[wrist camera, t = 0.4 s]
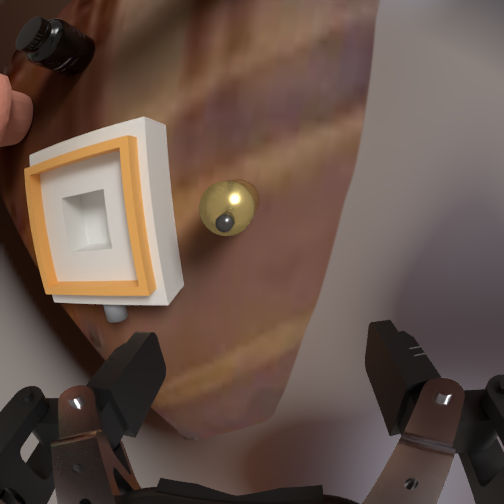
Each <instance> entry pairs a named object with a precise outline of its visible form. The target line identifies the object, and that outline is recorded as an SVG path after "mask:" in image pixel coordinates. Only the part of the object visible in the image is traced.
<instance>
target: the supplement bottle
mask: <svg viewBox="0 0 504 504" xmlns="http://www.w3.org/2000/svg"><path fill="white" fill-rule="evenodd" d="M16 48H17V49H18V50H19V51H22V52H24V53H26V54H27V58H28V60H29V61H30V62H31V63H33V64H35V65H38V66H41V67H44V68H47V69H49V70H52V71H55V72H58V73H60V74H63V75H67V76H71V75H74V74H77V73H79V72H80V71H81V70H83V69H84V68H85V67H86V66H87V65H88V63H89V62H90V60H91V59H92V56H93V54H94V50H95V44H94V41H93V39H92V38H91V37H89V36H88V35H86V34H85V33H83V32H82V31H80V30H78V29H77V28H75V27H73V26H72V25H70V24H69V23H67V22H65V21H63V20H61V19H51V20H49V21H48V20H47V19H43V18H42V17H35V18H33V19H31V20H30V21H29V22H28V23H27V24H26V25H25V26H24V27H23V29H22V30H21V32H20V33H19V36H18V38H17V41H16Z"/></svg>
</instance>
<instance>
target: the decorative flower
mask: <svg viewBox="0 0 504 504" xmlns="http://www.w3.org/2000/svg"><path fill="white" fill-rule="evenodd" d="M32 117H33V104H32V100H31V99H30V97H29V96H27V95H25V94H23V93H20V92H16V91H12V90H11V85H10V82H9V79H8V76H5V75H2V74H0V147H3V146H9V145H15V144H17V143H19V142H20V141H21V140H22V139H23V138H24V137H25V135H26V134H27V132H28V130H29V128H30V126H31V122H32Z"/></svg>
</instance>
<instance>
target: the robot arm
mask: <svg viewBox="0 0 504 504" xmlns="http://www.w3.org/2000/svg"><path fill="white" fill-rule="evenodd" d="M365 367H366V372H367V375H368V377H369V380H370V383H371V385H372V388H373V390H374V393H375V396H376V399H377V401H378V404H379V407H380V410H381V413H382V415H383V418H384V421H385V424H386V427H387V430H388V432H389V435H390V436H393V435H396V434H401V437H400V439H399V441H398V443H397V445H396V447H395V449H394V451H393V453H392V455H391V457H390V458H389V460H388V462H387V464H386V465H385V467H384V469H383V471H382V472H381V474H380V476H379V477H378V479H377V481H376V482H375V484H374V486H373V487H372V489H371V491H370V492H369V494H368V495H367V496H366V498H365V499H364V501H363V502H362V504H437V501H438V499H439V497H440V494H441V492H442V489H443V487H444V484H445V481H446V479H447V476H448V473H449V471H450V468H451V465H452V462H453V459H454V455H455V453H458V454H459V456H460V459H461V462H462V464H463V467H464V470H465V473H466V475H467V478H468V481H469V484H470V487H471V490H472V493H473V496H474V500H475V503H476V504H504V452H503V450H502V448H501V446H500V444H499V442H498V440H497V437H498V436H499V438H500V440H501V441H502V444H503V446H504V375H497V376H494V377H492V378H491V379H490V380H489V381H488V383H487V386H486V388H485V389H482V390H464V389H463V387H462V386H461V385H460V384H459V383H458V382H456V381H455V380H452V379H449V378H442V377H441V376H440V375H439V373H438V372H437V370H436V369H435V367H434V366H433V364H432V363H431V362H430V360H429V359H428V357H427V355H426V354H424V351H423V350H422V348H421V347H420V345H419V344H418V343H417V341H416V340H415V339H414V337H412V336H411V335H409V334H408V333H406V332H405V331H401V332H398V330H397V329H396V327H395V326H394V324H393V323H392V322H391V320H385V321H377V322H371V323H370V324H369V329H368V338H367V346H366V354H365ZM165 376H166V365H165V362H164V358H163V355H162V352H161V348H160V345H159V342H158V338H157V336H156V334H155V333H154V332H135V333H134V334H133V335H132V336H131V338H130V339H129V340H128V341H127V343H124V344H123V345H121V346H120V347H118V348H117V349H115V350H114V351H113V353H112V354H111V355H110V356H109V359H107V360H106V361H105V362H104V365H102V366H101V367H100V369H99V370H98V371H97V372H96V374H95V375H94V376H93V377H92V379H91V380H90V381H89V382H88V384H87V385H86V386H82V385H81V386H74V387H71V388H69V389H67V390H65V391H64V392H63V393H62V394H61V395H60V397H59V398H45V396H44V394H43V393H42V391H41V389H40V388H38V387H36V386H29V387H25V388H23V389H21V390H20V391H18V392H17V393H16V394H15V395H14V397H13V398H12V399H11V400H10V401H9V402H8V404H7V405H6V406H5V407H4V408H3V409H2V411H1V412H0V504H47V503H48V501H49V499H50V497H51V495H52V492H53V491H54V489H55V490H56V496H57V502H58V504H359V503H357V502H354V501H352V500H349V499H346V498H342V497H339V496H333V495H325V494H323V488H322V485H318V486H306V487H292V488H291V487H290V488H278V489H273V490H268V491H263V492H259V493H253V494H247V495H240V496H235V495H230V494H227V493H224V492H220V491H217V490H214V489H211V488H207V487H204V486H202V485H199V484H194V483H186V482H181V481H174V480H169V479H164V478H160V480H159V483H158V486H157V487H150V488H143V489H142V488H141V487H140V485H139V483H138V481H137V479H136V477H135V474H134V472H133V470H132V467H131V464H130V462H129V459H128V456H127V453H126V450H125V448H124V445H123V443H122V441H121V438H122V437H123V435H126V436H131V437H136V435H137V433H138V431H139V429H140V427H141V425H142V423H143V421H144V419H145V417H146V415H147V413H148V411H149V409H150V407H151V405H152V403H153V401H154V399H155V397H156V395H157V393H158V391H159V389H160V387H161V385H162V383H163V381H164V379H165ZM31 432H32V433H33V434H34V435H35V437H36V438H37V439H38V440H39V444H38V445H37V447H36V448H35V450H34V451H33V453H32V454H31V456H30V458H29V459H28V461H27V462H26V463H25V462H24V461H23V460H22V458H21V455H20V450H21V447H22V445H23V444H24V442H25V441H26V440H27V438H28V437H29V435H30V434H31Z"/></svg>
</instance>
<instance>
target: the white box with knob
mask: <svg viewBox="0 0 504 504" xmlns="http://www.w3.org/2000/svg"><path fill="white" fill-rule="evenodd" d="M24 173H25V186H26V196H27V205H28V212H29V219H30V226H31V232H32V237H33V243H34V248H35V253H36V257H37V262H38V266H39V270H40V274H41V278H42V282H43V286H44V289H45V293H46V294H52V296H53V300H54V302H60V303H80V304H103V306H104V310H105V313H106V317H107V320H108V321H109V322H113V323H114V322H120V321H123V320H125V319H126V318H127V317H128V312H127V308H126V305H169V304H170V302H171V301H172V300H173V299H174V297H175V296H176V295H177V294H178V292H179V291H180V290H181V289H182V287H183V286H184V281H183V275H182V269H181V262H180V256H179V249H178V242H177V235H176V227H175V219H174V211H173V202H172V193H171V184H170V174H169V163H168V150H167V137H166V125H164V124H162V123H159V122H157V121H154V120H152V119H149V118H147V117H141V118H137V119H133V120H129V121H126V122H122V123H118V124H115V125H111V126H108V127H105V128H101V129H98V130H95V131H92V132H89V133H86V134H83V135H80V136H77V137H74V138H71V139H69V140H66V141H63V142H61V143H58V144H55V145H53V146H50V147H48V148H45V149H43V150H41V151H38V152H36V153H34V154H31V155H30V167H28V168H26V169H24Z"/></svg>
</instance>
